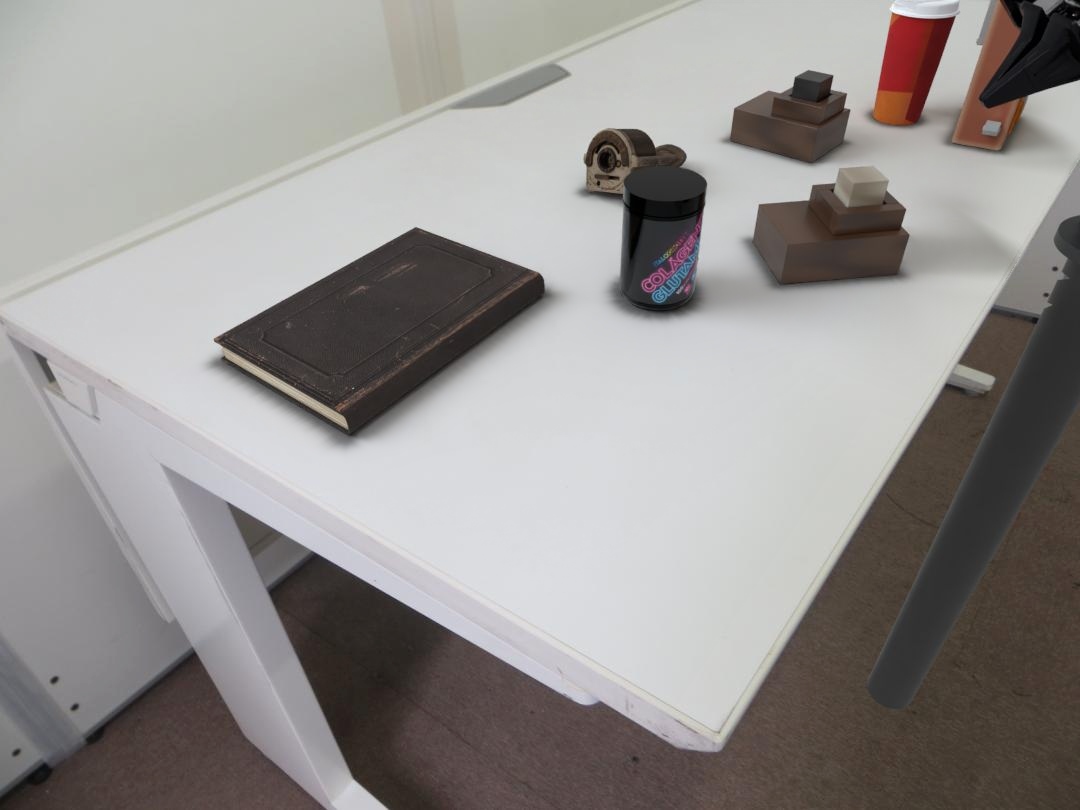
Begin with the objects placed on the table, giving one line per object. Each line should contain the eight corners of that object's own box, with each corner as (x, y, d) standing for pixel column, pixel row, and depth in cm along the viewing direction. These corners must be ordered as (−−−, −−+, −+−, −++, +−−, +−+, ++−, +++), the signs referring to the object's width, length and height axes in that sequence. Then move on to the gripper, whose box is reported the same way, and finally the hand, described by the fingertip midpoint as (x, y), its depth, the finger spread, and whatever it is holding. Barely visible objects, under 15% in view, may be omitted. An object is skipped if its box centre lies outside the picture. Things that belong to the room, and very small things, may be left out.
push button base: (843, 142, 92) (854, 91, 88) (811, 163, 88) (821, 111, 84) (763, 121, 98) (771, 73, 94) (729, 140, 94) (736, 90, 90)
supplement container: (622, 315, 65) (627, 202, 59) (615, 274, 71) (619, 167, 64) (700, 312, 65) (715, 199, 59) (687, 272, 71) (699, 164, 64)
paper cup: (915, 106, 101) (949, -12, 91) (937, 127, 95) (974, 4, 86) (855, 107, 101) (883, -10, 92) (873, 129, 95) (904, 6, 86)
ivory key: (866, 192, 70) (873, 165, 68) (881, 207, 67) (889, 180, 65) (832, 194, 69) (838, 167, 68) (846, 210, 67) (853, 182, 65)
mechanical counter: (561, 129, 84) (599, 140, 76) (662, 99, 87) (710, 106, 78) (573, 193, 88) (611, 210, 79) (669, 162, 90) (716, 175, 82)
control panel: (1023, 115, 97) (1004, 156, 88) (964, 106, 100) (940, 145, 91) (1098, -82, 83) (1085, -58, 74) (1027, -85, 86) (1006, -63, 77)
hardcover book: (221, 361, 62) (213, 338, 61) (418, 247, 76) (415, 226, 74) (352, 438, 55) (345, 414, 53) (545, 296, 68) (544, 274, 67)
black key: (829, 97, 88) (834, 75, 87) (815, 105, 87) (820, 82, 85) (804, 92, 90) (808, 69, 88) (790, 99, 88) (794, 76, 87)
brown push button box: (860, 233, 75) (876, 175, 71) (898, 274, 69) (917, 213, 65) (752, 241, 74) (761, 183, 71) (780, 284, 68) (792, 223, 64)
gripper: (1056, -156, 60) (885, 6, 67) (1246, -131, 46) (1004, 72, 52) (1106, -48, 66) (943, 92, 72) (1289, 4, 51) (1066, 172, 58)
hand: (982, 103), depth 64 cm, fingers closed
